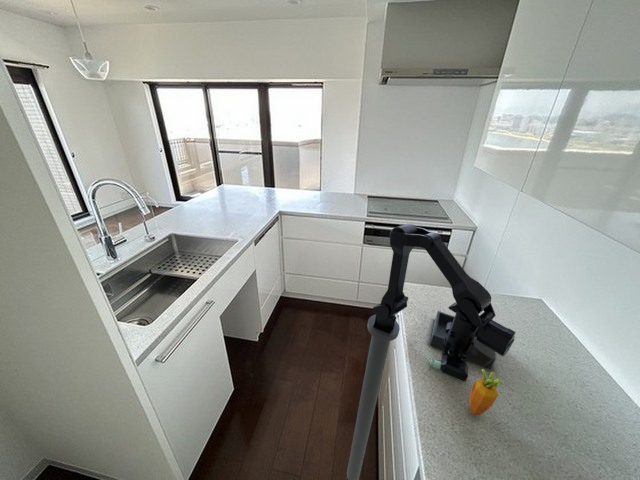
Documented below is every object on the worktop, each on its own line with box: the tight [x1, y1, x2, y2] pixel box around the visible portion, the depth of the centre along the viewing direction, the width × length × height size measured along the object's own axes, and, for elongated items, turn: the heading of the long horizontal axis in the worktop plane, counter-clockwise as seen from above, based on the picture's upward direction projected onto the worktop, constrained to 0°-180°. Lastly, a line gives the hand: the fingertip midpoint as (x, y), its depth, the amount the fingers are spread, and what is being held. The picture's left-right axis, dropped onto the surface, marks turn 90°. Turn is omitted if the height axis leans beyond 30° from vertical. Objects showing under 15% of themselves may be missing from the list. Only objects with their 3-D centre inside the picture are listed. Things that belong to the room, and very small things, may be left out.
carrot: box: [468, 368, 502, 417], centre depth 62 cm, size 5×5×15 cm
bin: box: [429, 310, 497, 370], centre depth 86 cm, size 18×14×5 cm
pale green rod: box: [429, 358, 441, 370], centre depth 76 cm, size 10×2×2 cm, turn 61°
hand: (447, 368), depth 75 cm, fingers closed on pale green rod, 2 cm apart
